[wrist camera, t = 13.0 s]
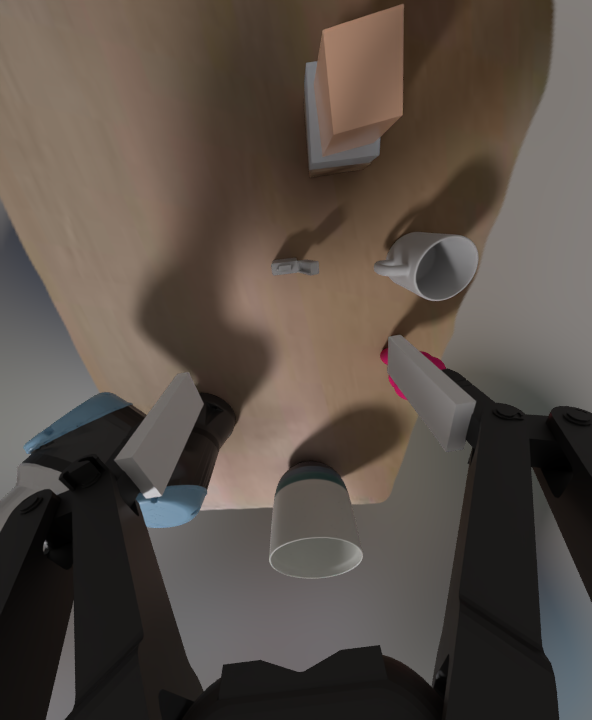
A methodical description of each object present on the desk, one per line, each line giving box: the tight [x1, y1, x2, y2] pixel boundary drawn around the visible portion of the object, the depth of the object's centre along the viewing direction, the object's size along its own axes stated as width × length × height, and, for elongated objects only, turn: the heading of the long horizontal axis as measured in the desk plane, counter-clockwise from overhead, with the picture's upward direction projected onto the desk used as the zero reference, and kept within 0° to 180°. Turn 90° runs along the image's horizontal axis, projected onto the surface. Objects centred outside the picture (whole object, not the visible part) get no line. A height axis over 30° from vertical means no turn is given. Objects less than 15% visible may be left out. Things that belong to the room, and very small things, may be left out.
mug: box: [374, 232, 478, 301], centre depth 36 cm, size 12×8×11 cm
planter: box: [269, 461, 363, 578], centre depth 60 cm, size 20×20×21 cm
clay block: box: [314, 4, 404, 157], centre depth 22 cm, size 6×6×8 cm
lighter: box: [271, 257, 319, 275], centre depth 37 cm, size 7×2×8 cm, turn 96°
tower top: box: [304, 61, 380, 170], centre depth 27 cm, size 8×8×4 cm
